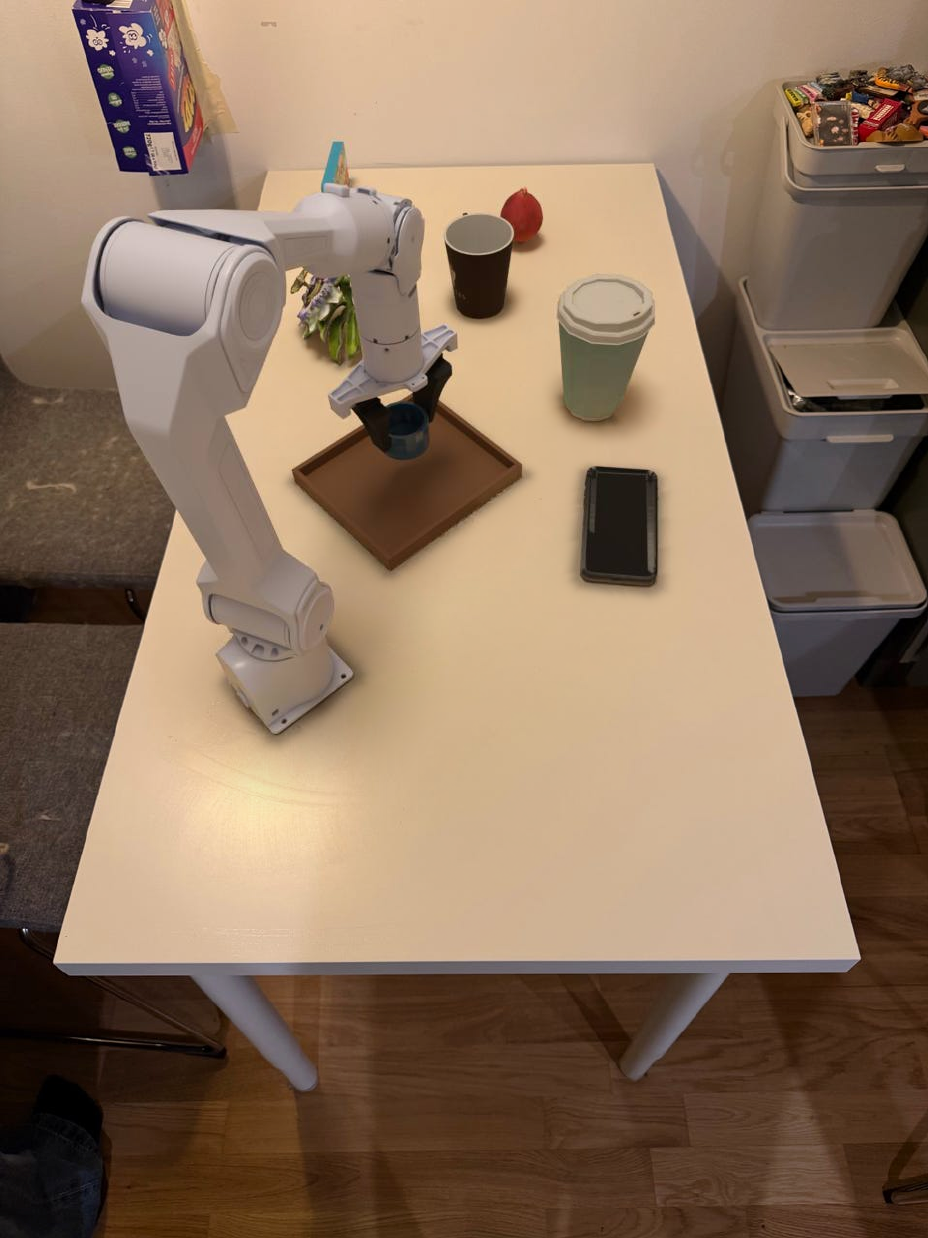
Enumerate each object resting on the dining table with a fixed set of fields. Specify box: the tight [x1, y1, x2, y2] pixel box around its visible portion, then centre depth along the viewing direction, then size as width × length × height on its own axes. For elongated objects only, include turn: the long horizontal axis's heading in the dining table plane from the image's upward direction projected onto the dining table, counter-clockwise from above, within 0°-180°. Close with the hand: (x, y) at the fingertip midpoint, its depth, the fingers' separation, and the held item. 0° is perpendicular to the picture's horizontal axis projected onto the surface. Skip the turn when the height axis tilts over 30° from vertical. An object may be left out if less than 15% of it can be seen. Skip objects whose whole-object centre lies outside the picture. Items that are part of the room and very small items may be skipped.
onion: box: [499, 186, 544, 244], centre depth 115 cm, size 6×6×8 cm
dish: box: [384, 400, 430, 460], centre depth 88 cm, size 5×5×3 cm
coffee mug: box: [443, 212, 514, 320], centre depth 108 cm, size 12×9×10 cm
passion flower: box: [289, 268, 362, 365], centre depth 105 cm, size 11×11×12 cm
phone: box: [579, 465, 659, 587], centre depth 90 cm, size 8×1×15 cm
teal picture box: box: [320, 141, 350, 193], centre depth 122 cm, size 12×2×6 cm, turn 176°
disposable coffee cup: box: [555, 273, 656, 422], centre depth 94 cm, size 11×11×15 cm
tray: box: [291, 392, 523, 572], centre depth 94 cm, size 19×17×2 cm
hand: (402, 431), depth 88 cm, fingers closed on dish, 5 cm apart
